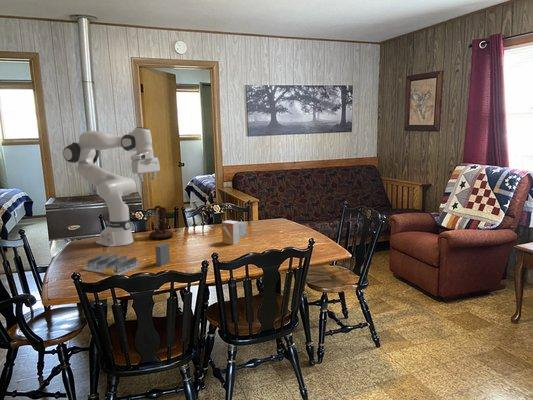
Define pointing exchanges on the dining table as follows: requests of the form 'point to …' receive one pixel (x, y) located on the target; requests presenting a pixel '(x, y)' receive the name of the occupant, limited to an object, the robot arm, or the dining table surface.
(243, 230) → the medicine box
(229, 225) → the small box
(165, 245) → the grey rectangular block
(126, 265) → the rack
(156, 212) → the brown statue
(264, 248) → the dining table surface
